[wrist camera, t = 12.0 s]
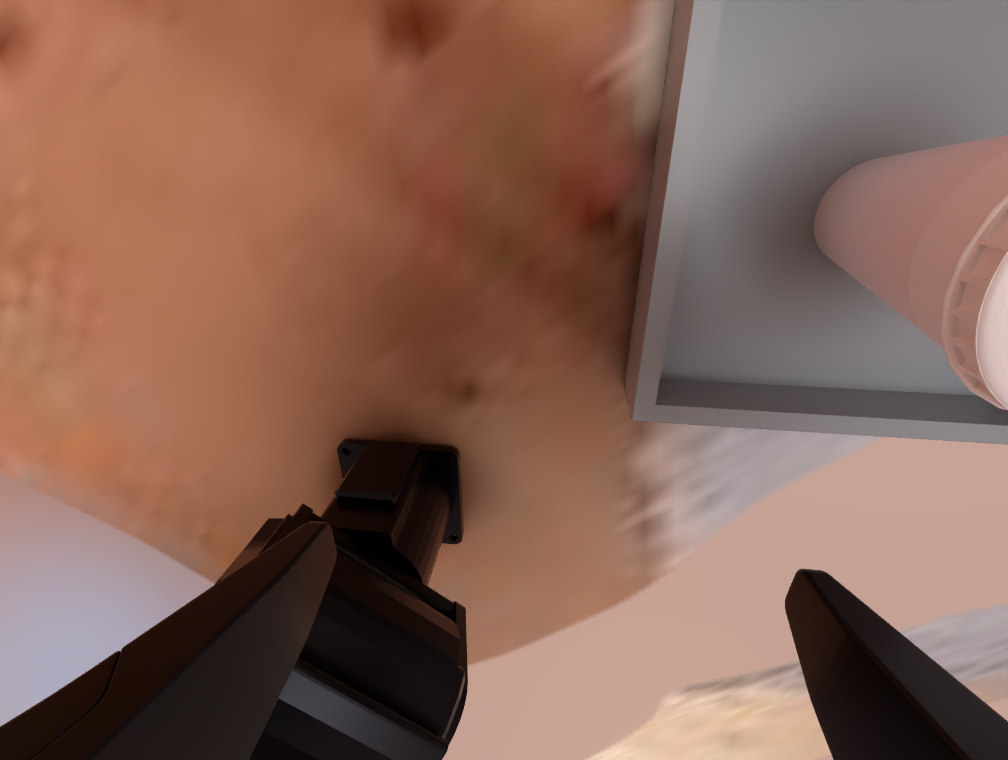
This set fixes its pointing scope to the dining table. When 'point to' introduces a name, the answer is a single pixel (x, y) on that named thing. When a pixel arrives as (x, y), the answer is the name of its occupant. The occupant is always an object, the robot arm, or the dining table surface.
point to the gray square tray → (801, 214)
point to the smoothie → (932, 248)
